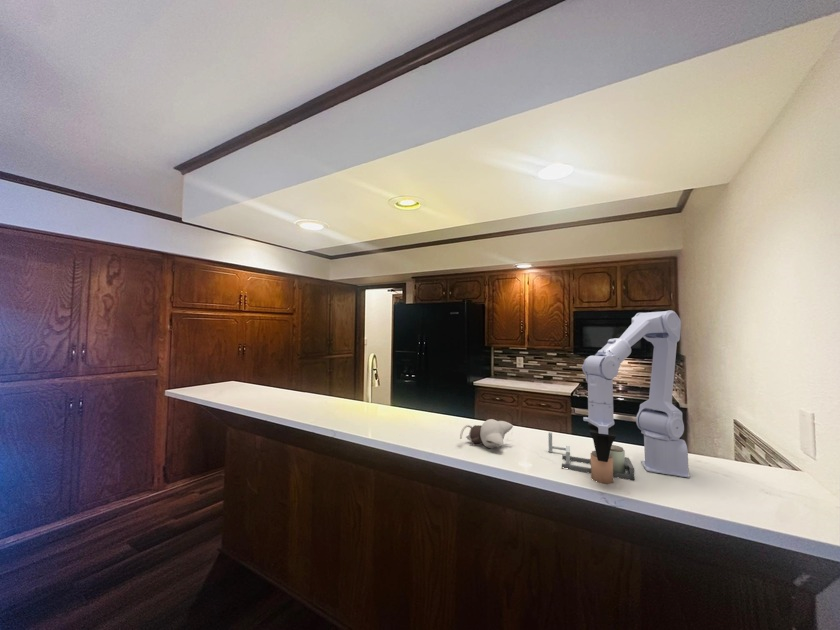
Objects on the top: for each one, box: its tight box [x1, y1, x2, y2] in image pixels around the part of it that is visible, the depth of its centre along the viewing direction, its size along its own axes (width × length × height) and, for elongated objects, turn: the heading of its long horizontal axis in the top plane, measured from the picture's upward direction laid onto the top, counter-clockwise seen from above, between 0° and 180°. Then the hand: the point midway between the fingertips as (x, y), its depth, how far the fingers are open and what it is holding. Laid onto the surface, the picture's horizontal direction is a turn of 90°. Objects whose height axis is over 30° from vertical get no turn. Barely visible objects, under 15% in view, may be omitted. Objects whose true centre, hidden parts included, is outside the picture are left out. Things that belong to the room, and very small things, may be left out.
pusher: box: [548, 431, 571, 465], centre depth 97 cm, size 6×12×6 cm, turn 155°
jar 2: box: [610, 444, 626, 474], centre depth 89 cm, size 5×5×6 cm
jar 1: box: [590, 450, 614, 485], centre depth 83 cm, size 5×5×6 cm
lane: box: [561, 454, 636, 481], centre depth 90 cm, size 17×8×3 cm, turn 65°
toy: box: [459, 418, 514, 450], centre depth 108 cm, size 13×9×15 cm
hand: (601, 456), depth 83 cm, fingers open, 7 cm apart
